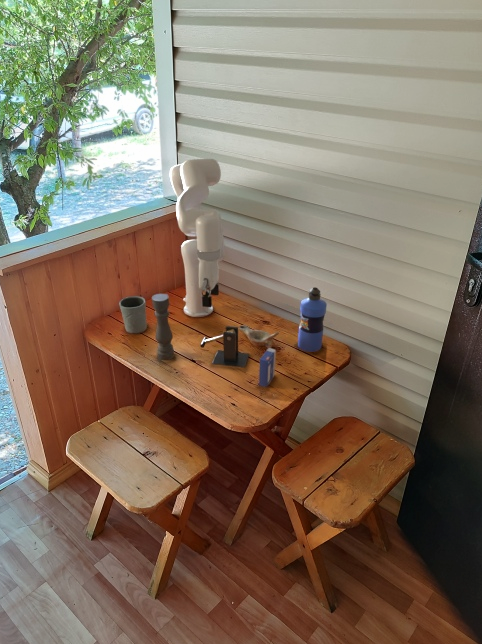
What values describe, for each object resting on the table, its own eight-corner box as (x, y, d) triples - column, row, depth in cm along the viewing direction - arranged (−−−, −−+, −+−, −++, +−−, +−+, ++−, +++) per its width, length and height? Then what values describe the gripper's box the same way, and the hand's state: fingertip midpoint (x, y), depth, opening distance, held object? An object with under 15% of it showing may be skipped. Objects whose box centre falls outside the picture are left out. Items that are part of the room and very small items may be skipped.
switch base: (212, 366, 172) (211, 334, 165) (218, 352, 180) (217, 321, 172) (244, 369, 170) (245, 338, 163) (249, 356, 178) (249, 325, 170)
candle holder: (155, 355, 177) (149, 295, 164) (172, 351, 180) (166, 292, 166) (160, 364, 173) (153, 302, 159) (176, 360, 175) (171, 299, 161)
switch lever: (202, 349, 171) (199, 343, 170) (205, 341, 175) (202, 336, 174) (234, 339, 167) (231, 334, 166) (237, 332, 171) (234, 326, 170)
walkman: (266, 389, 161) (267, 360, 154) (258, 387, 162) (259, 358, 155) (274, 377, 167) (276, 348, 160) (267, 375, 168) (268, 346, 161)
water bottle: (304, 356, 178) (310, 296, 164) (292, 343, 185) (297, 285, 171) (326, 351, 181) (333, 291, 167) (313, 339, 188) (319, 281, 175)
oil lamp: (268, 358, 176) (269, 335, 171) (231, 335, 190) (231, 313, 184) (284, 350, 181) (286, 327, 176) (248, 328, 195) (248, 306, 189)
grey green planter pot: (140, 336, 189) (137, 309, 182) (118, 331, 191) (114, 305, 185) (152, 324, 197) (149, 298, 190) (131, 320, 199) (127, 294, 193)
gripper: (204, 244, 166) (206, 289, 175) (190, 262, 152) (193, 310, 161) (225, 246, 165) (226, 291, 174) (213, 264, 151) (215, 312, 160)
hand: (210, 300), depth 167 cm, fingers open, 9 cm apart
